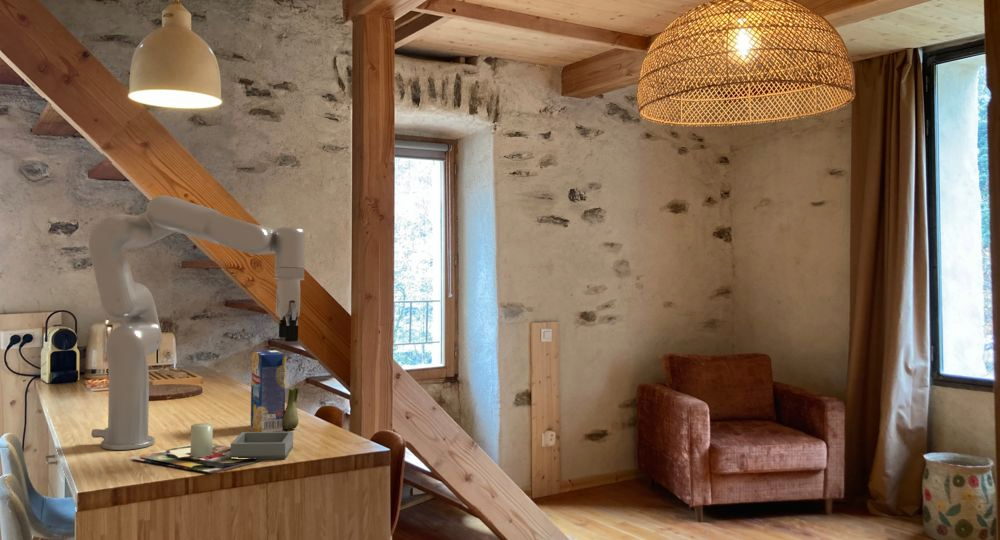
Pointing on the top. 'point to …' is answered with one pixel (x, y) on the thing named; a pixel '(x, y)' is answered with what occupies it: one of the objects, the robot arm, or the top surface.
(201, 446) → the white ceramic cup
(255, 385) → the beverage box
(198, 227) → the robot arm
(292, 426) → the fennel bulb
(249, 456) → the bin
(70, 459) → the top surface
